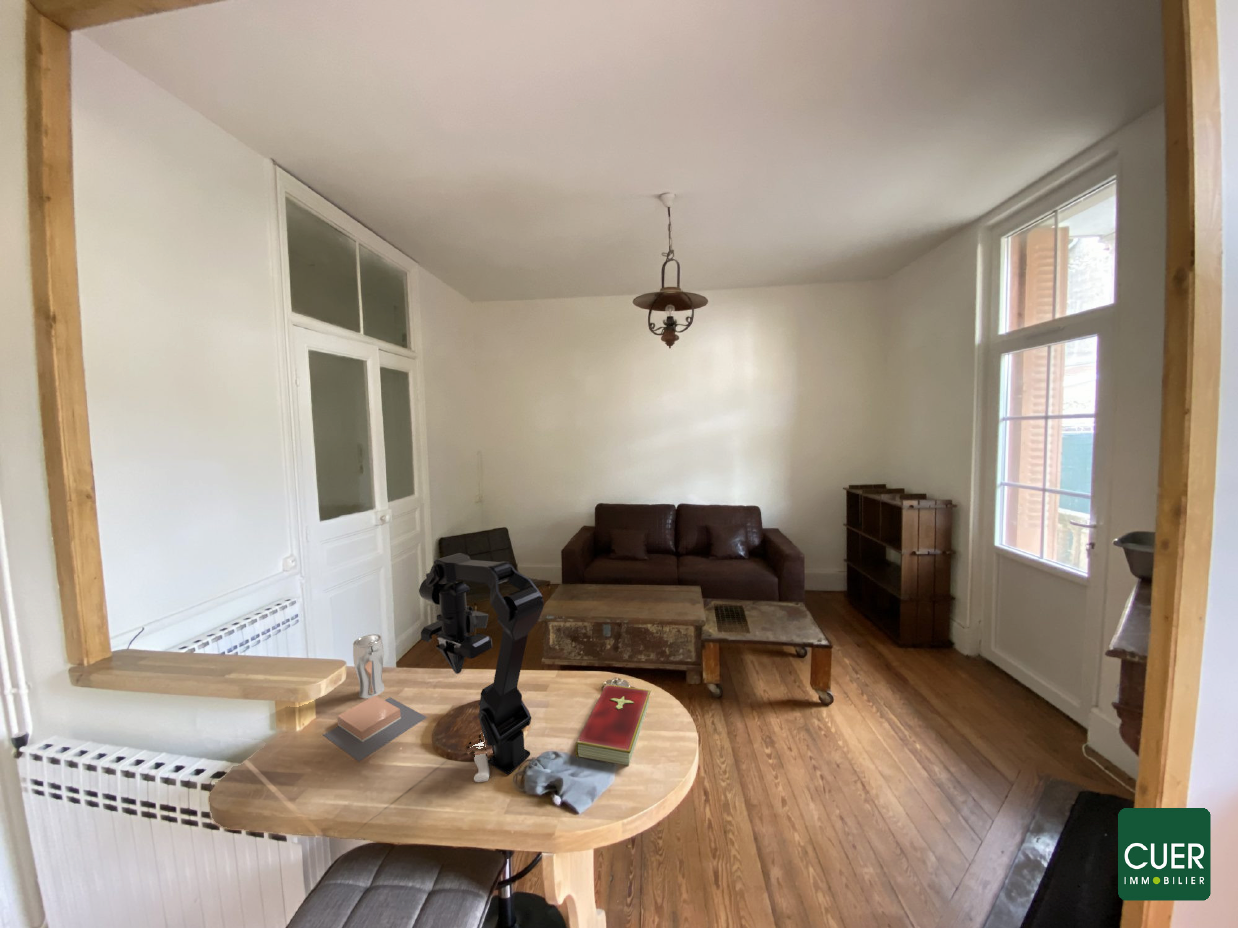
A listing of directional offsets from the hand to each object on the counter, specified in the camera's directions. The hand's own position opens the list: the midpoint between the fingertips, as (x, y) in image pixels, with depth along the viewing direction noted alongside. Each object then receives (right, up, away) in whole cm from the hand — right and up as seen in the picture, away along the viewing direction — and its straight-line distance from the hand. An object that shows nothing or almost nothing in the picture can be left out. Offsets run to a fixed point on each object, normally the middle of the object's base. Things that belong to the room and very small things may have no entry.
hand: (458, 672), depth 102 cm
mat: (-20, -14, +1) cm, 24 cm away
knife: (+3, -14, -3) cm, 15 cm away
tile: (-18, -12, -1) cm, 21 cm away
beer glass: (-29, -13, +15) cm, 35 cm away
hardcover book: (+37, -13, -2) cm, 39 cm away
